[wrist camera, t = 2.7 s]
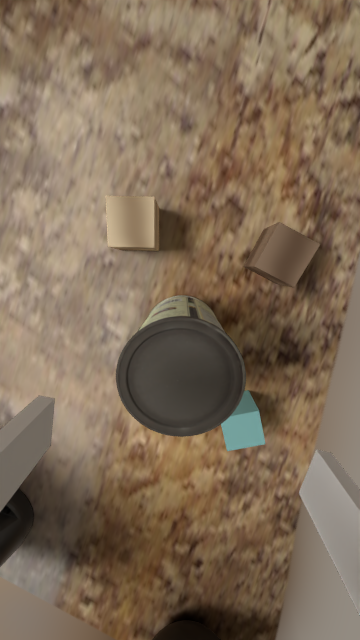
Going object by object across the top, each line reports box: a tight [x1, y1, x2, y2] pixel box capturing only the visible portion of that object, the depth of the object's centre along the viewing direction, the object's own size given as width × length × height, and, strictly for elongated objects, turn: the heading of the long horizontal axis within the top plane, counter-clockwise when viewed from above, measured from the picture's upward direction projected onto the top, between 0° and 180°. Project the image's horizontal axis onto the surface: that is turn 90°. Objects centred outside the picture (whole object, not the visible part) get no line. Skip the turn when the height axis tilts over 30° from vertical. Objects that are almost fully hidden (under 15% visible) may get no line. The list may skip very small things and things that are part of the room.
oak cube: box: [106, 196, 159, 251], centre depth 27 cm, size 5×5×5 cm
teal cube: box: [221, 390, 265, 451], centre depth 32 cm, size 5×5×5 cm
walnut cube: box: [244, 222, 320, 287], centre depth 27 cm, size 5×5×5 cm
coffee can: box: [116, 295, 246, 437], centre depth 25 cm, size 10×10×14 cm
